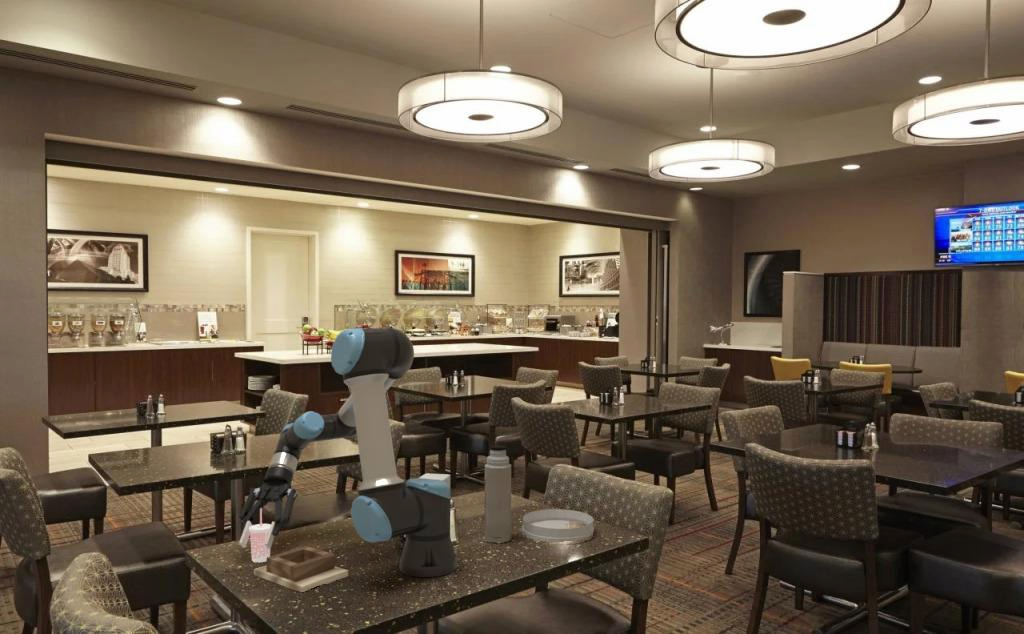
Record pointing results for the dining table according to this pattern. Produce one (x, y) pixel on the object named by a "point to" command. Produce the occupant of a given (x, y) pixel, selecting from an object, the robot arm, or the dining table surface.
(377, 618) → the dining table surface
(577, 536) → the dish
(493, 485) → the thermos bottle
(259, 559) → the beverage cup
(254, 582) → the dining table surface
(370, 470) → the robot arm
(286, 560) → the collar stand
